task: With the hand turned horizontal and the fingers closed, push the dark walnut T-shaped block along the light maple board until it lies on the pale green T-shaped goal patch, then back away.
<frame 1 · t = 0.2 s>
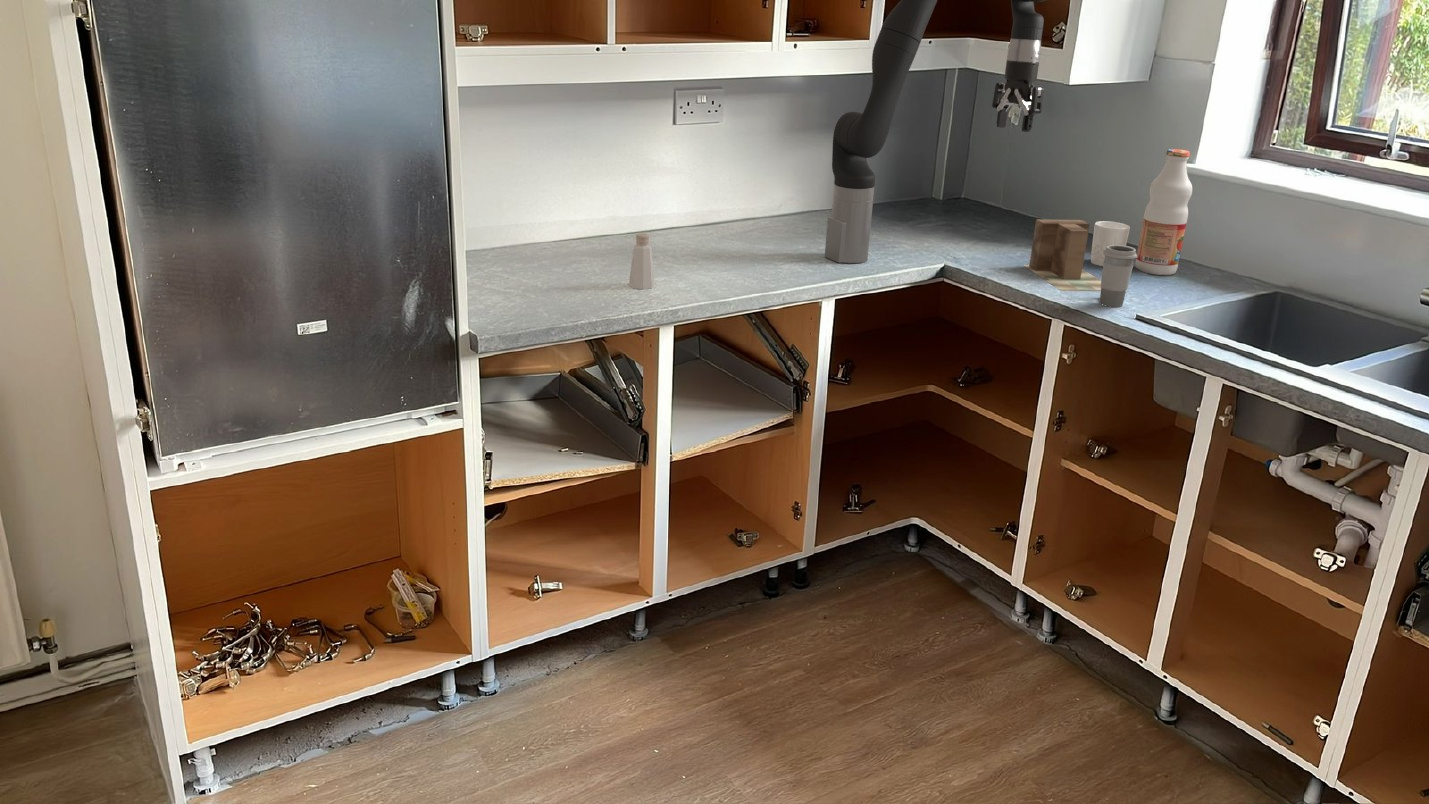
hand: (1013, 129, 266), 29 cm above the worktop, tool pointing down, fingers open, 8 cm apart
tee block: (1055, 268, 253), point 1 cm above the worktop, touching board
board: (1068, 280, 247), on the worktop
white cup: (1104, 267, 261), on the worktop
fruit juice: (1154, 271, 259), on the worktop
pepper shaker: (641, 286, 229), on the worktop
cup: (1110, 304, 231), on the worktop
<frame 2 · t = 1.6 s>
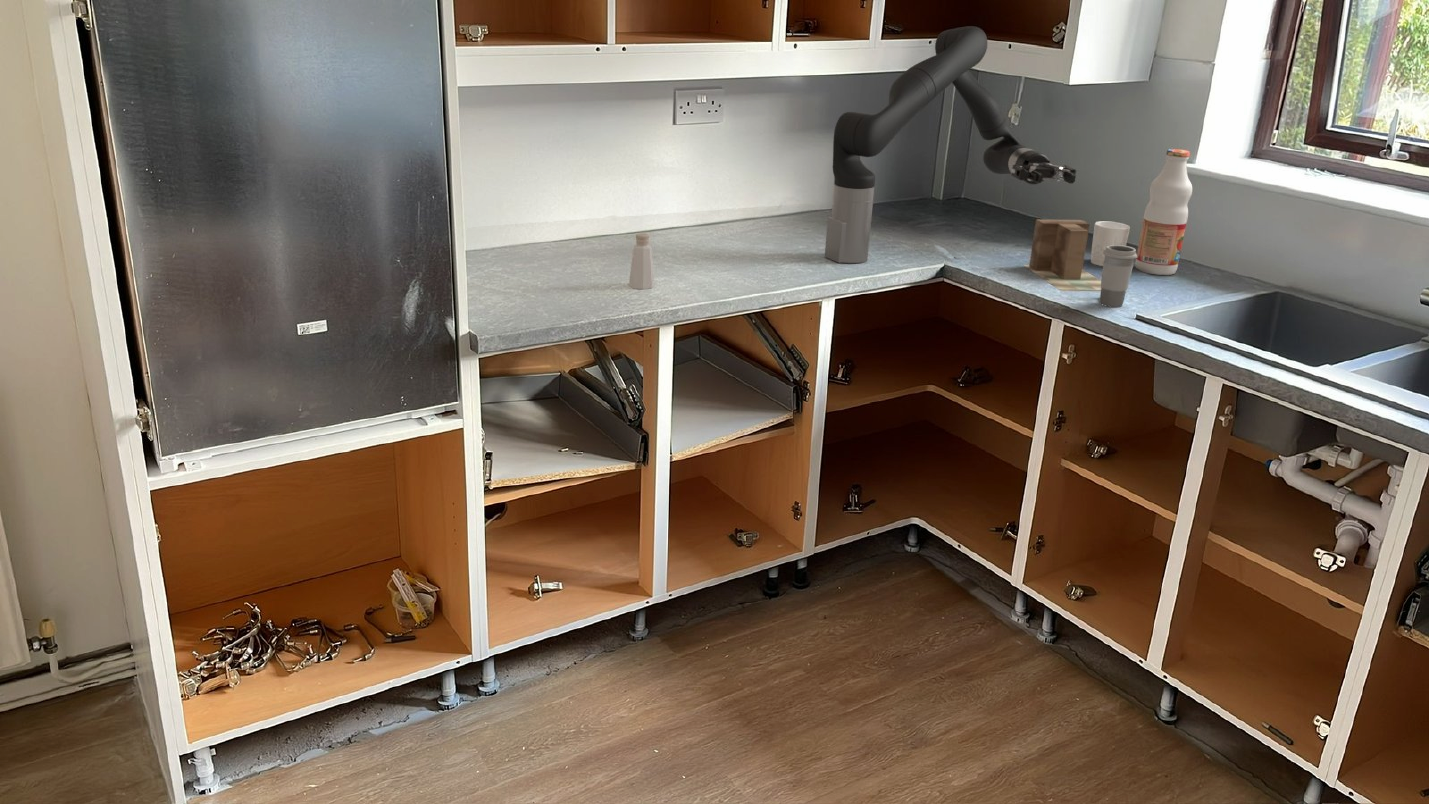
hand: (1056, 178, 252), 20 cm above the worktop, tool horizontal, fingers open, 7 cm apart
nothing on the worktop moved.
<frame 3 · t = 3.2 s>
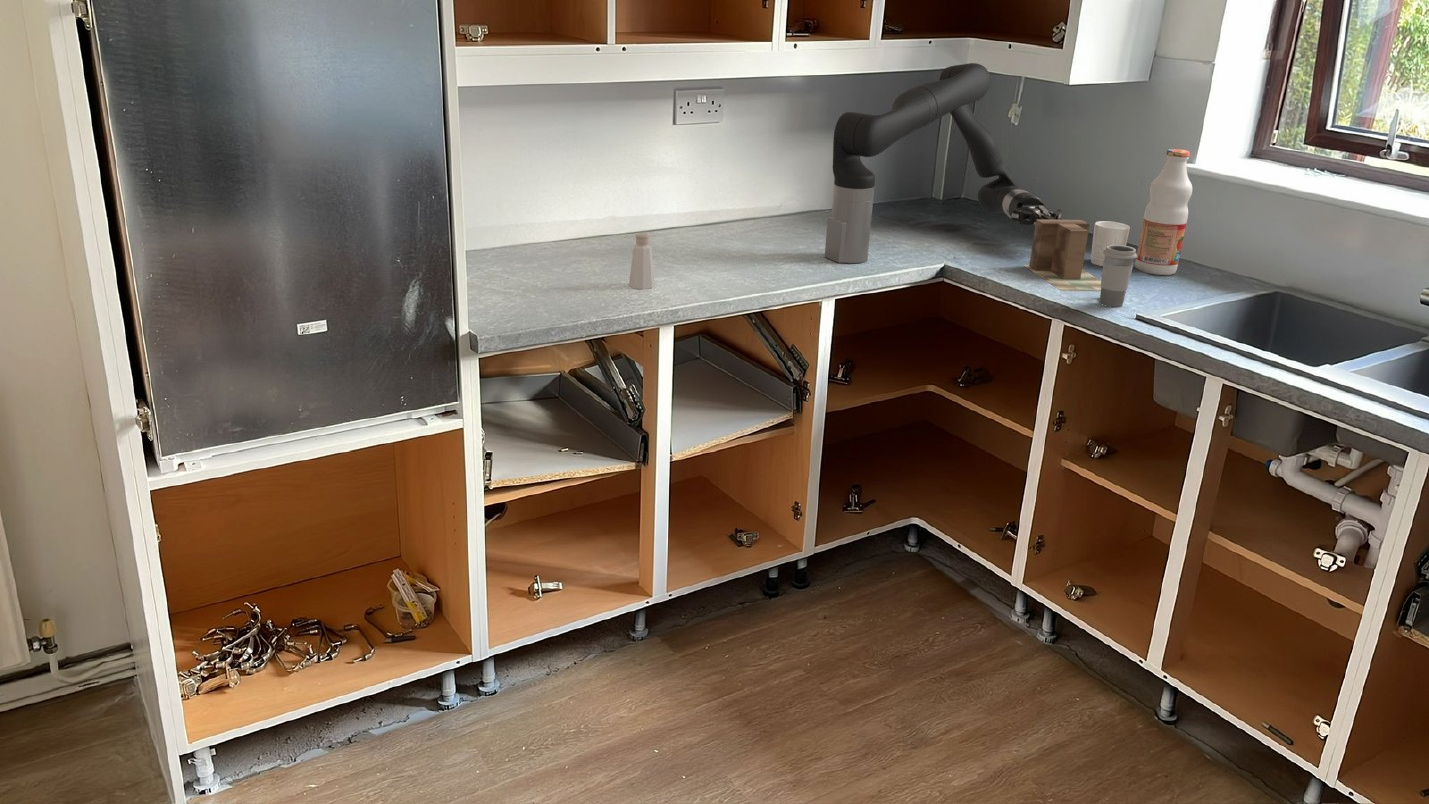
hand: (1051, 223, 256), 10 cm above the worktop, tool horizontal, fingers closed
nothing on the worktop moved.
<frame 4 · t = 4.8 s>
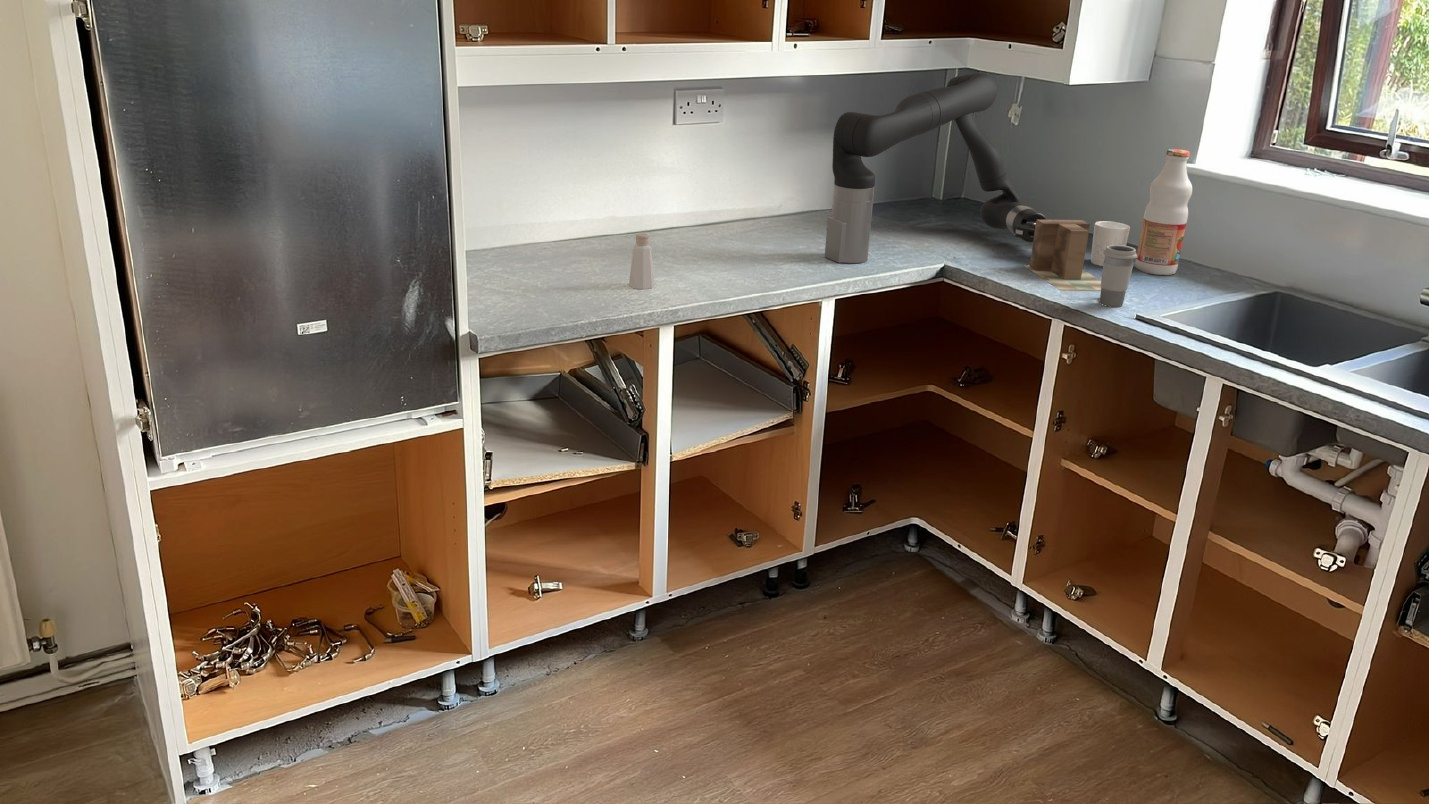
hand: (1056, 240, 253), 7 cm above the worktop, tool horizontal, fingers closed
tee block: (1055, 268, 253), point 1 cm above the worktop, touching gripper
everything else where it was.
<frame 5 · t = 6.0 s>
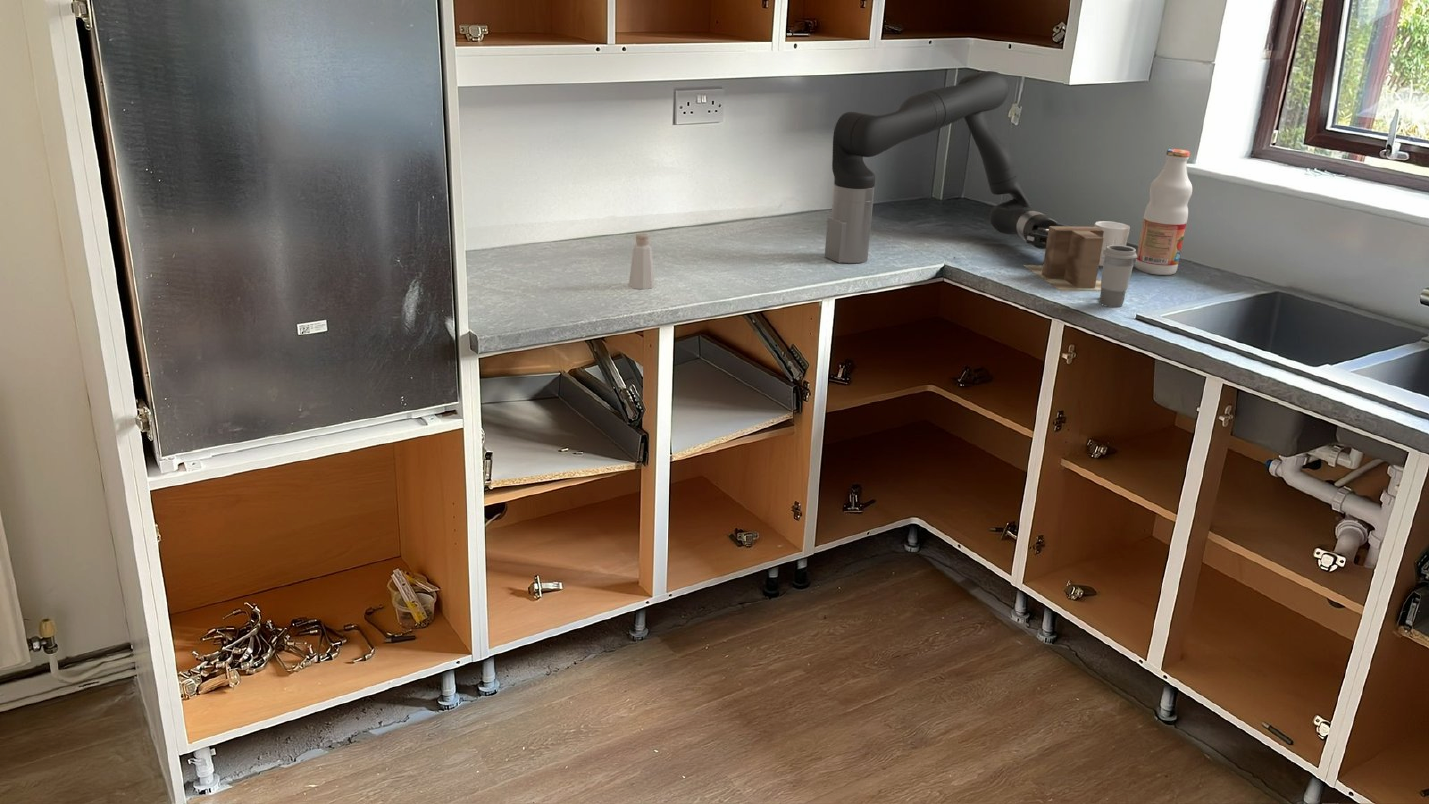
hand: (1068, 247, 247), 7 cm above the worktop, tool horizontal, fingers closed
tee block: (1068, 276, 247), point 1 cm above the worktop, touching gripper
everything else where it was.
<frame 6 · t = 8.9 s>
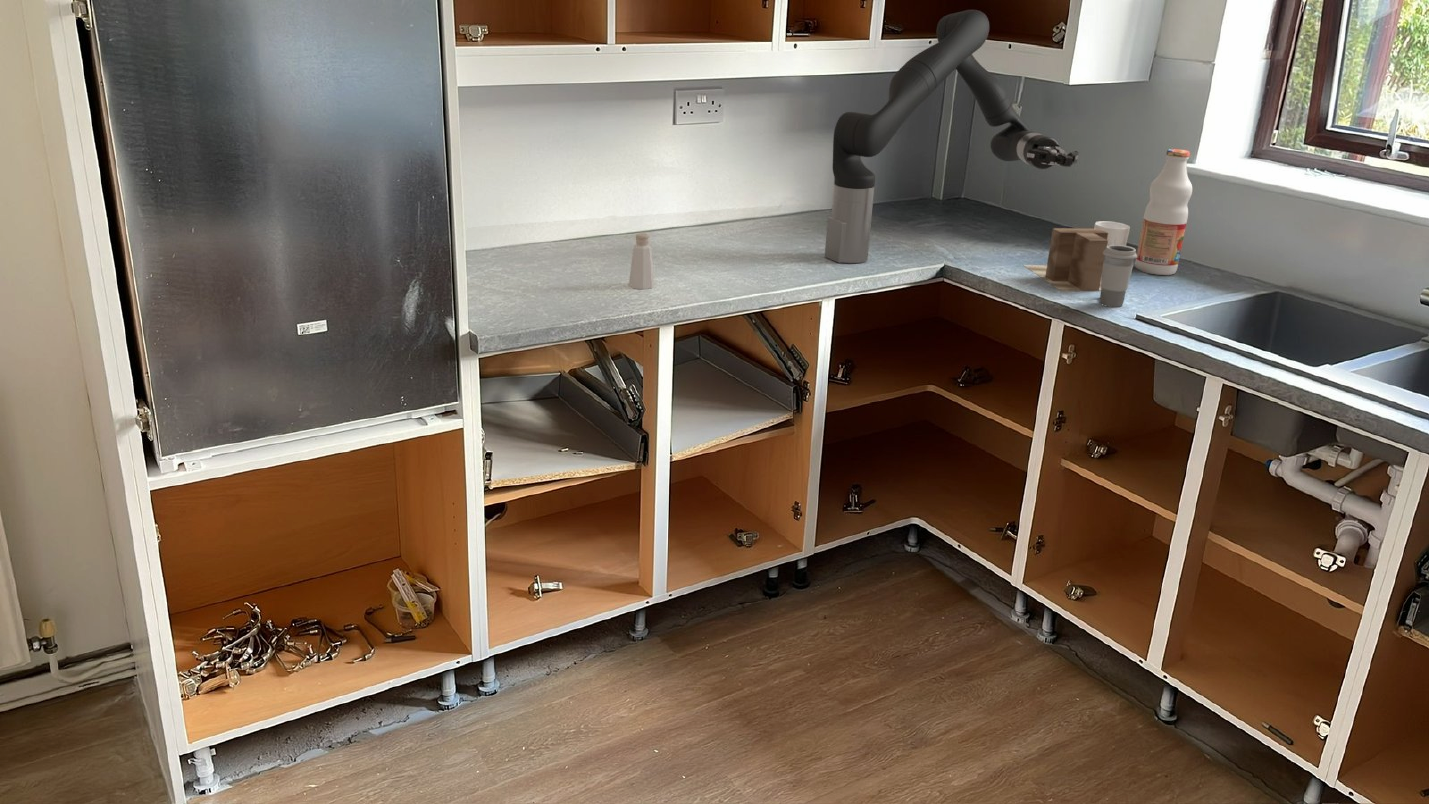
hand: (1068, 161, 246), 25 cm above the worktop, tool horizontal, fingers closed
tee block: (1072, 278, 245), point 1 cm above the worktop, touching board
everything else where it was.
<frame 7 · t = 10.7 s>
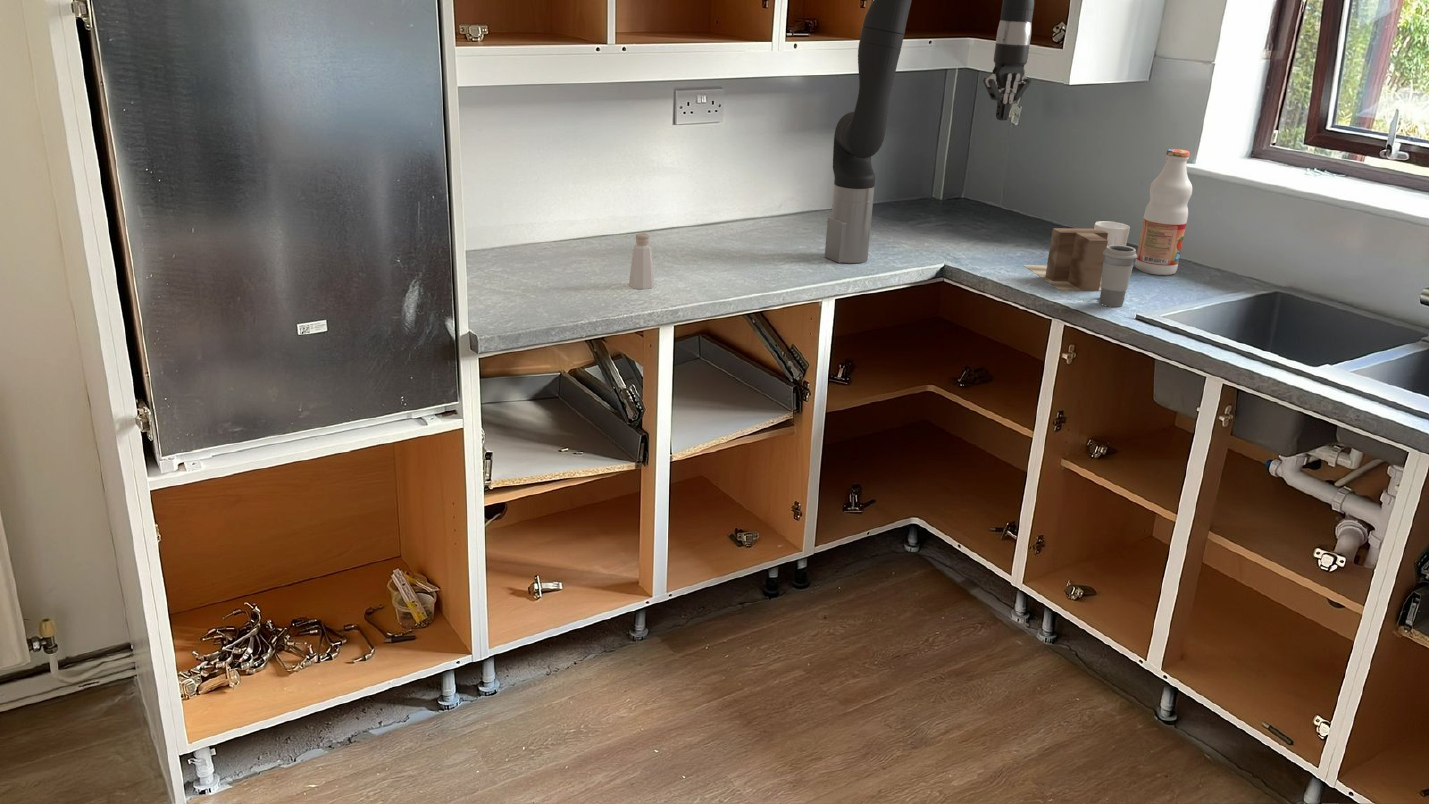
hand: (1001, 119, 256), 32 cm above the worktop, tool pointing down, fingers closed
nothing on the worktop moved.
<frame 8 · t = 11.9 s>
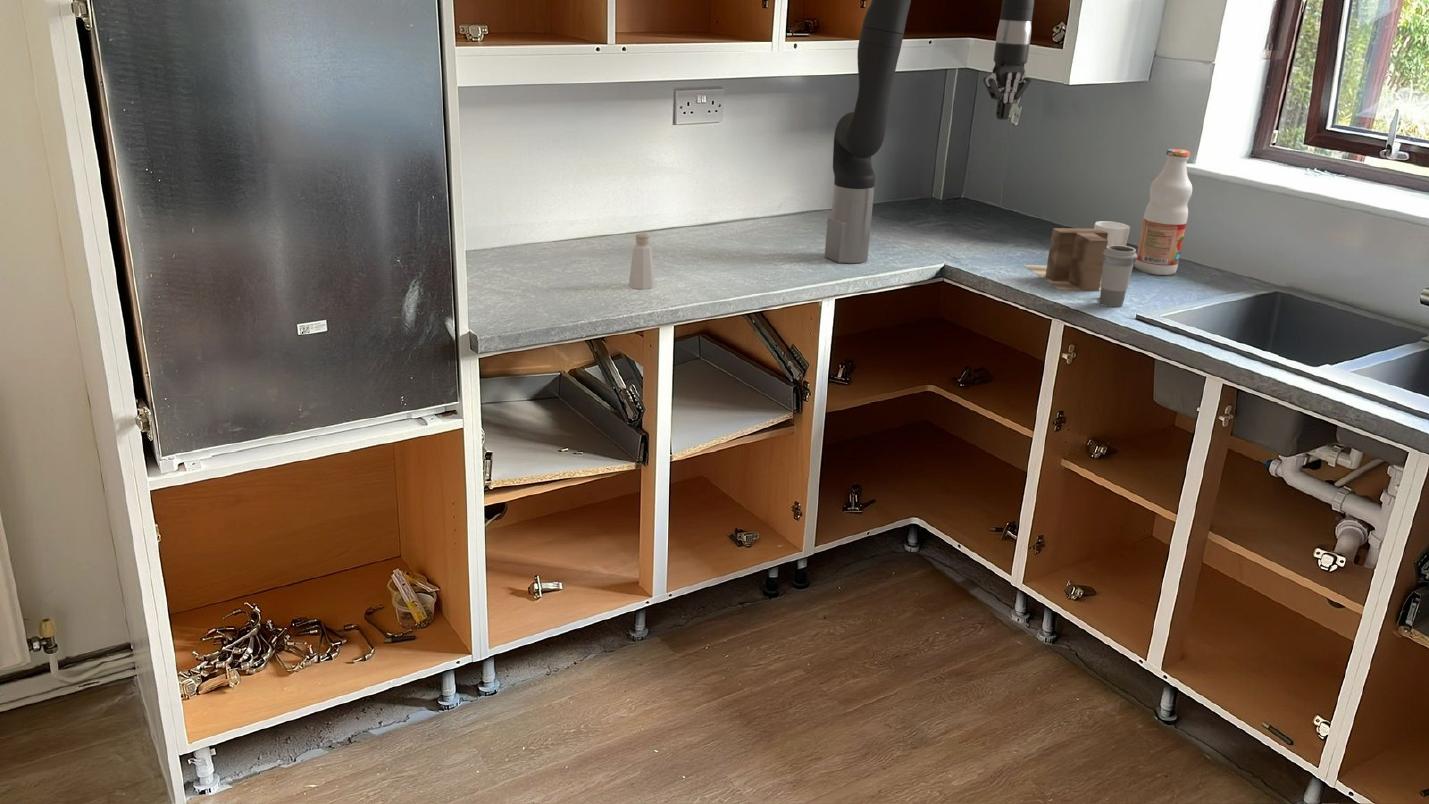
hand: (1002, 118, 256), 32 cm above the worktop, tool pointing down, fingers closed
nothing on the worktop moved.
at the end: tee block 0.7 cm from the target spot, point 0.8 cm above the worktop; tee block moved 8.7 cm from its start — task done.
